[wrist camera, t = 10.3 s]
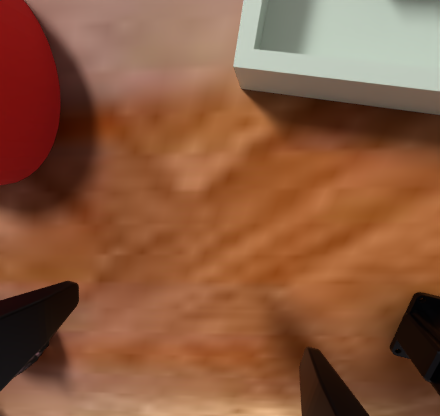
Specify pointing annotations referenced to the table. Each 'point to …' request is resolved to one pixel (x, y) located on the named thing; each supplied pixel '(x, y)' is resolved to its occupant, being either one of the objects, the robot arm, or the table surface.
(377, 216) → the table surface
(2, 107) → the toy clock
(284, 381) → the table surface
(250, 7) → the walled box
